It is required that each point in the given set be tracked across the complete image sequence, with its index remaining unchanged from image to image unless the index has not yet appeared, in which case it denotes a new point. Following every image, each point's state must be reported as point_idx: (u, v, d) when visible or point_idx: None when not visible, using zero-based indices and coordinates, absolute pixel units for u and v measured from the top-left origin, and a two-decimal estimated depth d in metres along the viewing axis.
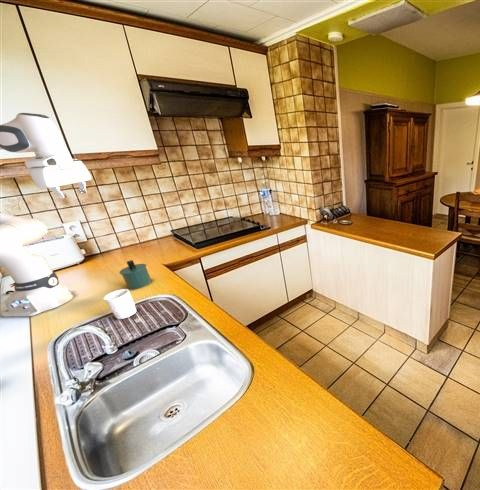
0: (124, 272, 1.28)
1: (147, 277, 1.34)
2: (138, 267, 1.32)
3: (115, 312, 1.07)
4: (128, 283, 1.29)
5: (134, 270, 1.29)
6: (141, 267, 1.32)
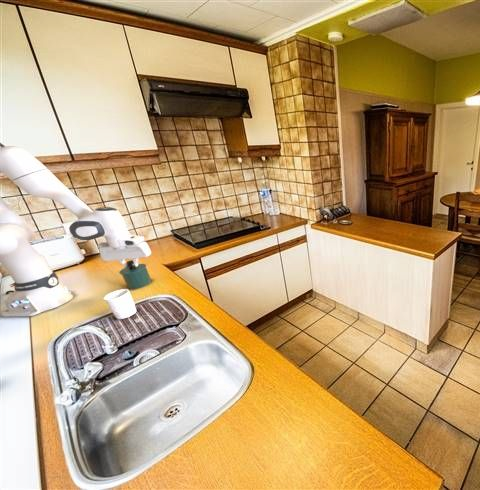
0: (124, 272, 1.28)
1: (147, 277, 1.34)
2: (138, 267, 1.32)
3: (115, 312, 1.07)
4: (128, 283, 1.29)
5: (134, 270, 1.29)
6: (141, 267, 1.32)
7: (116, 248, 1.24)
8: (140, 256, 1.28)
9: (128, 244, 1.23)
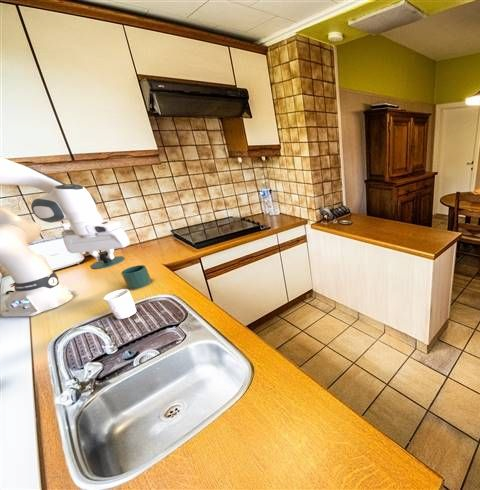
0: (96, 266, 1.03)
1: (147, 277, 1.34)
2: (114, 260, 1.08)
3: (115, 312, 1.07)
4: (128, 283, 1.29)
5: (109, 264, 1.05)
6: (118, 260, 1.08)
7: (84, 236, 0.99)
8: (115, 246, 1.04)
9: (99, 231, 0.99)
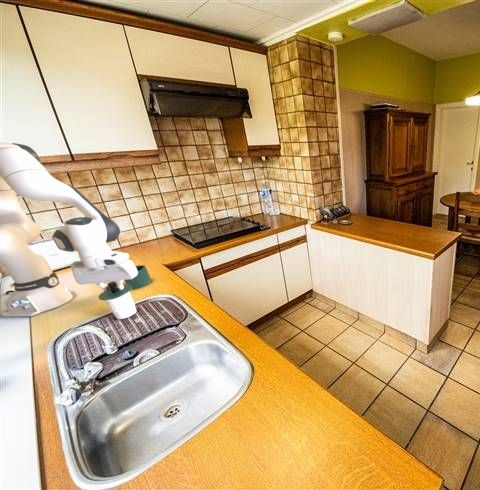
0: (104, 297, 1.03)
1: (147, 277, 1.34)
2: (122, 290, 1.08)
3: (115, 312, 1.07)
4: (128, 283, 1.29)
5: (117, 294, 1.05)
6: (126, 290, 1.08)
7: (93, 269, 0.99)
8: (124, 278, 1.04)
9: (108, 264, 0.99)
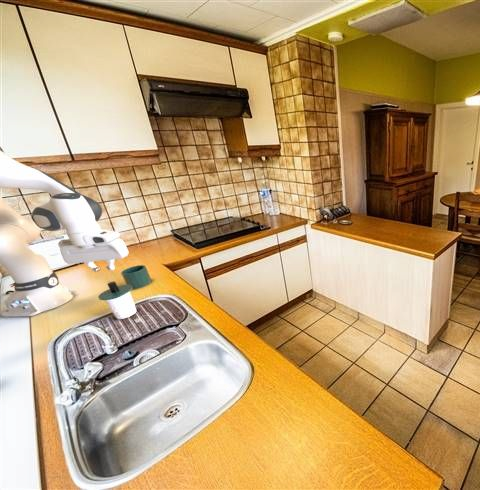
0: (104, 297, 1.03)
1: (147, 277, 1.34)
2: (122, 290, 1.08)
3: (115, 312, 1.07)
4: (128, 283, 1.29)
5: (117, 294, 1.05)
6: (126, 290, 1.08)
7: (82, 247, 0.96)
8: (114, 257, 1.00)
9: (97, 242, 0.96)
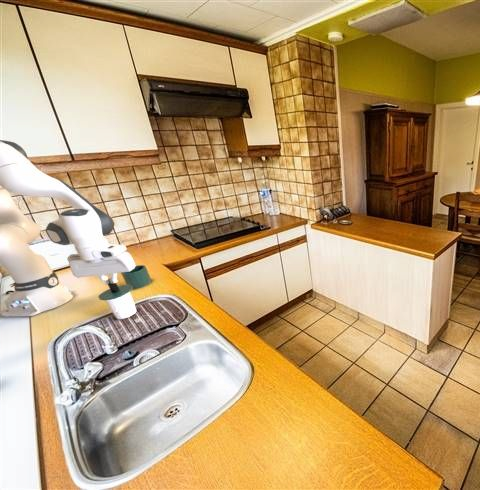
0: (104, 297, 1.03)
1: (147, 277, 1.34)
2: (122, 290, 1.08)
3: (115, 312, 1.07)
4: (128, 283, 1.29)
5: (117, 294, 1.05)
6: (126, 290, 1.08)
7: (90, 261, 0.98)
8: (121, 270, 1.02)
9: (105, 256, 0.98)
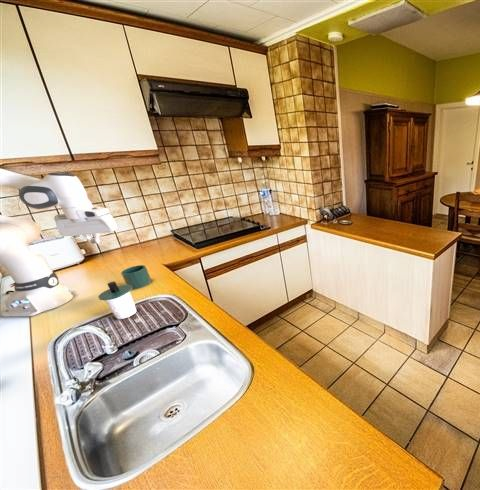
0: (104, 297, 1.03)
1: (147, 277, 1.34)
2: (122, 290, 1.08)
3: (115, 312, 1.07)
4: (128, 283, 1.29)
5: (117, 294, 1.05)
6: (126, 290, 1.08)
7: (75, 220, 1.08)
8: (104, 230, 1.12)
9: (89, 216, 1.07)
